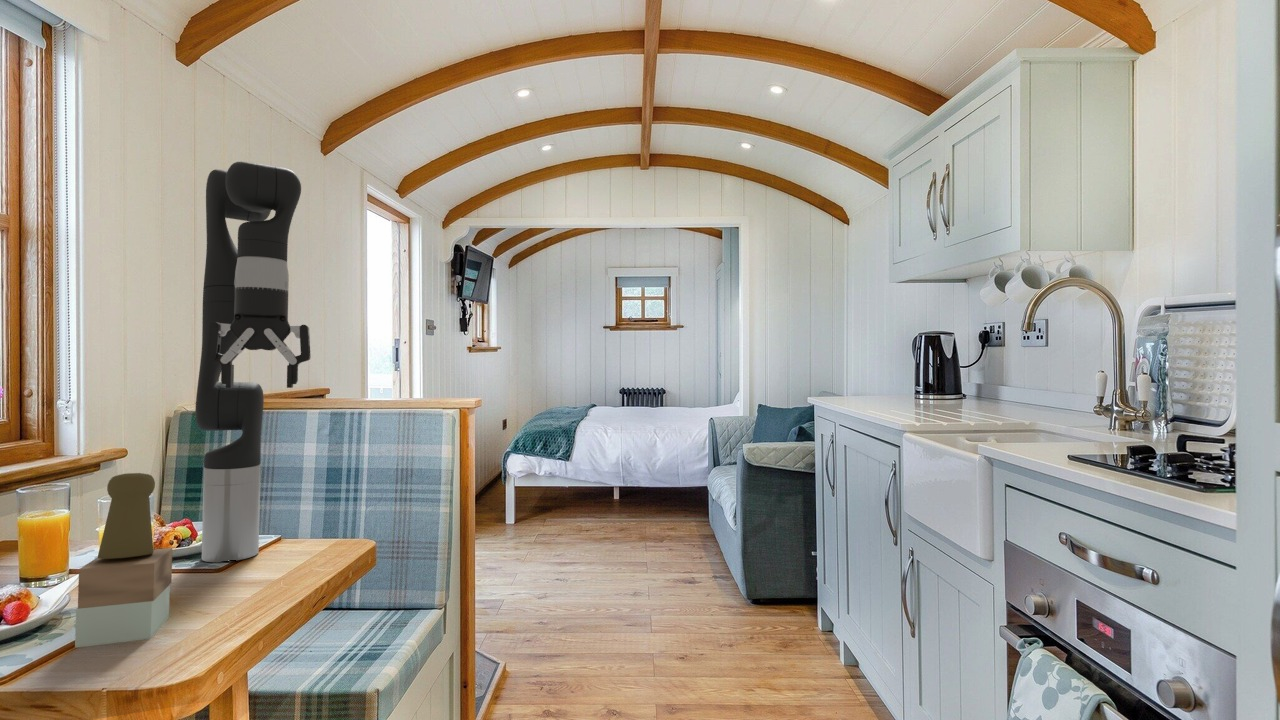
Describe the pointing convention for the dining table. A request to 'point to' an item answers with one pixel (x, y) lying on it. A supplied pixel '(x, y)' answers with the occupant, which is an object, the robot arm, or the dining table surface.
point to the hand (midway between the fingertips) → (260, 387)
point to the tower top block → (125, 579)
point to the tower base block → (121, 621)
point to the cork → (128, 517)
